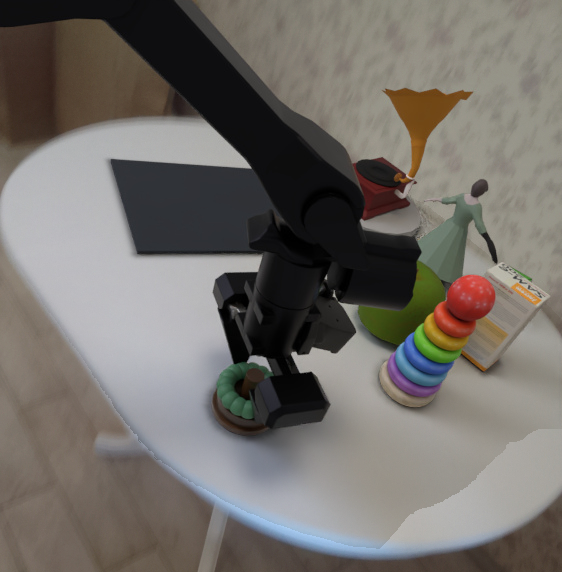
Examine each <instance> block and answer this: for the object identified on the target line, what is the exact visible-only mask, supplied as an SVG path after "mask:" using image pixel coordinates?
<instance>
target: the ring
mask: <svg viewBox="0 0 562 572" xmlns="http://www.w3.org/2000/svg"><path fill="white" fill-rule="evenodd" d="M251 368H257V369H260V370H261V371H262V372H263V373H264V375H265V378H264V379H266V378H267V377H269V376H274V375H273V373H272V371H271V370H269V368H268V367H267V366H265V365H259V364H258V363H256V362H253V361H250V362H248V361H247V362H239V363H238V364H233V363H232V364H230V365H228V366H227V367H226V369H223V370H222V371H221V372H220V373H219V376H218V377H219V378H218V379H217V380H216V385H215V387H216V389H218V390H217V395H218V398H219V399H220V400H221V401H222V404H223V406H224V407H225V408H226V409H229V410H230V411H231V412H232V413H233V414H234V415H237V416H242V417H243V418H245V419H252V418H254V416H253V410H252V405H251V401H249V400H248V401H246V400H245V399H244V398H242V397H240V396H239V395H238V394H237V393H236V391H235V388H234V386H235V383H236V382H237V381H239V380H241V379H245V376H246V373H247V371H248V370H249V369H251Z"/></svg>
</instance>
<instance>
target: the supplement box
mask: <svg viewBox="0 0 562 572" xmlns="http://www.w3.org/2000/svg"><path fill="white" fill-rule="evenodd" d="M509 266H510V265H508V264H506V263H505V262H504V261H501V262H498V263H497V264H495V265H494V266H492V267H490V268H488V269H487V270H486V271H485V273H484V275H483V276H482V277H484V278H485V279H487V280H488V281H489V282H490V283H491V284H492V286H493V288H494V290H495V296H496V298H495V303H494V306H493V308H492V309H491V311H490V312H489V313H488V314H487V315H486V316H484V317H483V318H481V319H478V320H476V328H475V330H474V332H473V333H472V334H470V335H469V339H468V342H467V344H466V345H465V346H464V347H463V348H462V351H461V354H460V355H462V356H463V357H465V358H466V359H467V360H469V361H470V362H471V363H472V364H473V365H475V366H476V367H477V368H478V369H480V371H482V372H486V371H487V370H488V369H489V368H490V367H492V366H493V365H494V364H495V363H496V362H498V360H500V359H501V357H502V356H503V354H505V352H506V351H507V350H508V349H509V347H510V346H511V345H512V344H513V343H514V341H515V340H516V339H517V338H518V337H519V336H520V334H521V333H522V332H523V331H524V330H525V328H526V327H528V325H529V324H530V322H531V321H532V320H533V318H535V316H536V315H537V314H538V313H539V312H540V311H541V309H542V308H543V307H544V306H545V304H546V303H547V302H548V301H549V299H550V298H551V297H552V296H551V295H550V294H548V293H547V292H546V291H544V290H543V289H542V288H541V287H539V286H537V285H536V284H535V283H533V281H532V282H530V281H529V280H527V279H526V278H525V277H523V276H522V275H520V274H519V273H517V272H516V271H515V270H513V269H512V268H513V267H512V266H510V267H509ZM511 267H512V268H511Z"/></svg>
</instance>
